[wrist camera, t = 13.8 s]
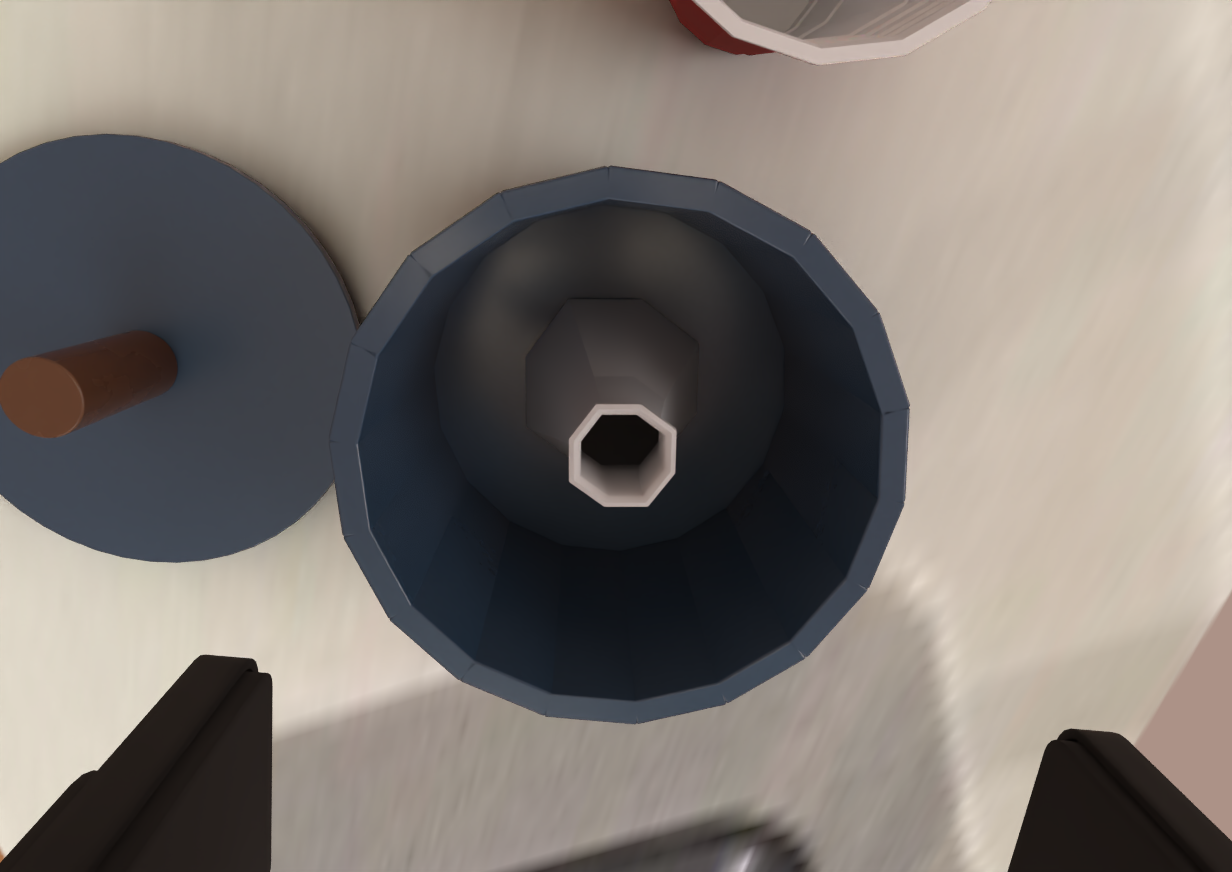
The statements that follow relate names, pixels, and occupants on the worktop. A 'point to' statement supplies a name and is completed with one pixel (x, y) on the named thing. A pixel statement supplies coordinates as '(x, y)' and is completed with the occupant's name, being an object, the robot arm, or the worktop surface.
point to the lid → (162, 350)
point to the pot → (539, 473)
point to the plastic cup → (823, 26)
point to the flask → (613, 396)
